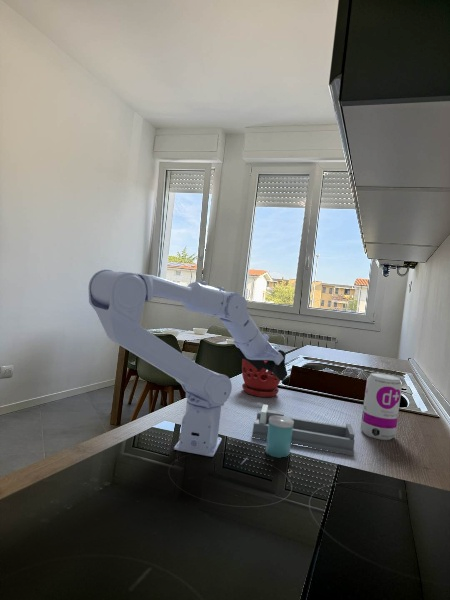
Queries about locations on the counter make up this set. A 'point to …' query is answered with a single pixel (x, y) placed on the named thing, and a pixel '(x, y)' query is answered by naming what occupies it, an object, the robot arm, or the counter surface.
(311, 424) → the lane
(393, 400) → the supplement can
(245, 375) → the plant pot
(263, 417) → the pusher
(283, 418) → the jar
